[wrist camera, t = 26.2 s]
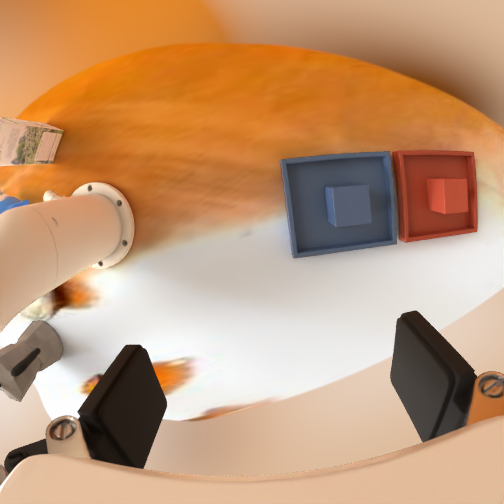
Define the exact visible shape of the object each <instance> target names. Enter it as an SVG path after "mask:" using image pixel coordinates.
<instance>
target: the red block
mask: <svg viewBox="0 0 504 504" xmlns="http://www.w3.org/2000/svg"><path fill="white" fill-rule="evenodd" d="M426 182H427V196H428V210H432V211H436V212H439V213H443V214H450V213H460V212H468V192H467V179H466V178H452V177H442V178H426Z"/></svg>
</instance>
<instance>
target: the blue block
mask: <svg viewBox="0 0 504 504" xmlns="http://www.w3.org/2000/svg"><path fill="white" fill-rule="evenodd" d="M324 193H325V202H326V211H327V221H328V222H329V223H331V224H332V225H334V226H335V227H343V226H351V225H359V224H368V223H372V216H371V203H370V192H369V185H368V184H358V183H354V184H343V185H333V186H324Z"/></svg>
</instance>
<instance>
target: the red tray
mask: <svg viewBox="0 0 504 504" xmlns="http://www.w3.org/2000/svg"><path fill="white" fill-rule="evenodd" d="M393 160H394V168H395V177H396V188H397V201H398V219H399V240H401V241H403V242H405V243H406V242H413V241H419V240H426V239H433V238H440V237H446V236H453V235H459V234H466V233H472V232H477V184H476V170H475V159H474V152H464V151H395V152H393ZM442 177H452V178H466V179H467V192H468V212H460V213H450V214H443V213H439V212H436V211H432V210H428V196H427V182H426V178H442Z"/></svg>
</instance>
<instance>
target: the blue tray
mask: <svg viewBox="0 0 504 504" xmlns="http://www.w3.org/2000/svg"><path fill="white" fill-rule="evenodd" d="M280 165H281V172H282V179H283V186H284V194H285V201H286V209H287V217H288V225H289V233H290V241H291V250H292V255H293V258H300V257H307V256H315V255H322V254H330V253H337V252H344V251H351V250H358V249H365V248H373V247H380V246H387V245H394V244H397V233H396V211H395V196H394V184H393V174H392V165H391V157H390V151H384V152H362V153H345V154H332V155H320V156H309V157H300V158H290V159H282V160H280ZM354 183H358V184H368V185H369V192H370V203H371V216H372V223H368V224H359V225H351V226H343V227H335V226H334V225H332V224H331V223H329V222H328V221H327V211H326V202H325V193H324V186H333V185H343V184H354Z"/></svg>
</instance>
